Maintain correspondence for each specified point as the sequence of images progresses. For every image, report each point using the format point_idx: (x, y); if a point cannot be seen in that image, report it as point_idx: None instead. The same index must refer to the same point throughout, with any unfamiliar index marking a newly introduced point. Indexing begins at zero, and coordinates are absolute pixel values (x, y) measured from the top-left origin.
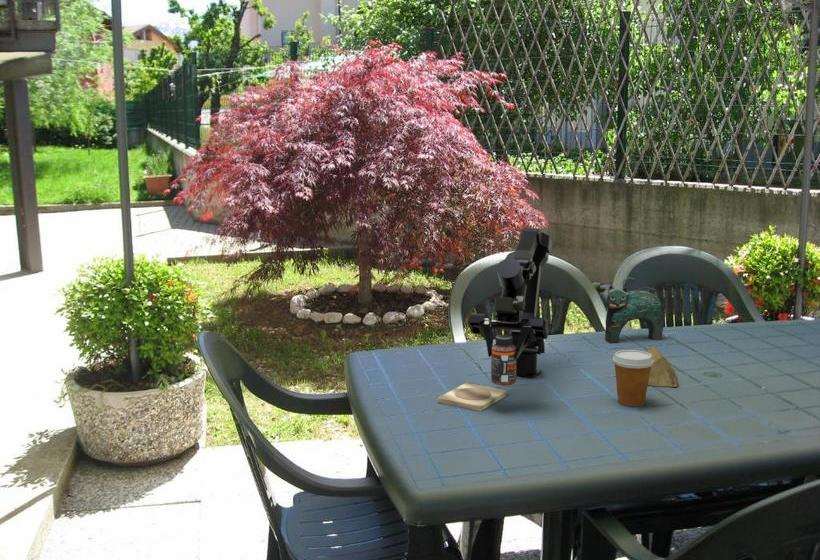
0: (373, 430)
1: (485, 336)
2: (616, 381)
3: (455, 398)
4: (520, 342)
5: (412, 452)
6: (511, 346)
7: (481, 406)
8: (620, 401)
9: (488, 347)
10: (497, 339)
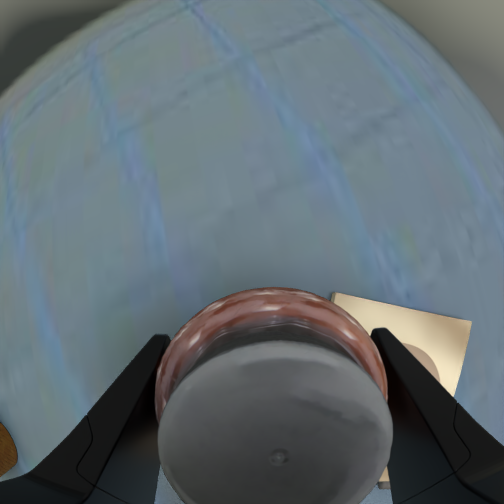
0: (482, 101)
1: (487, 436)
2: None
3: (428, 338)
4: (95, 429)
5: (366, 21)
6: (180, 375)
7: (334, 298)
8: (4, 432)
9: (412, 366)
10: (351, 362)
